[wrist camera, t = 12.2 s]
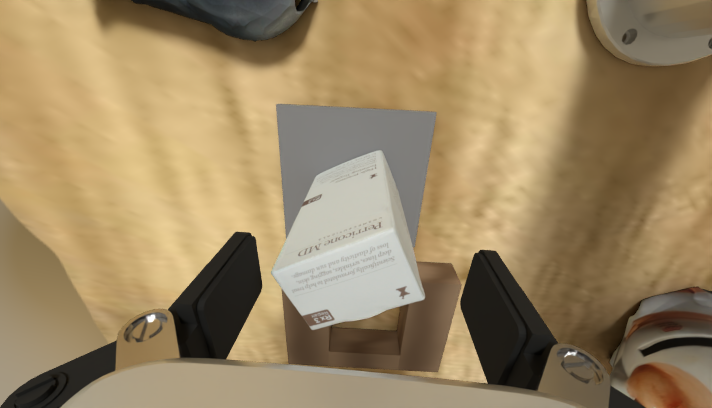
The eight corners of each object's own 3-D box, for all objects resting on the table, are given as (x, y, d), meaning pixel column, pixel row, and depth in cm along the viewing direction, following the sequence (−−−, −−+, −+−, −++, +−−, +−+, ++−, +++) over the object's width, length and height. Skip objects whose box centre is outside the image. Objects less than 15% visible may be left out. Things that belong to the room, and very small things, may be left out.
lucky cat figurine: (614, 383, 33) (670, 521, 22) (564, 297, 34) (592, 385, 22) (812, 373, 25) (1074, 583, 14) (744, 260, 26) (939, 367, 14)
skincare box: (380, 146, 21) (398, 218, 10) (400, 194, 23) (433, 300, 12) (312, 175, 22) (262, 269, 11) (335, 219, 24) (311, 337, 13)
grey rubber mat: (434, 111, 21) (436, 112, 20) (413, 244, 26) (414, 247, 25) (278, 103, 21) (276, 104, 20) (287, 237, 26) (286, 240, 25)
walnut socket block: (451, 263, 26) (461, 284, 24) (431, 346, 31) (437, 372, 29) (288, 254, 26) (280, 275, 24) (295, 339, 32) (288, 363, 29)
